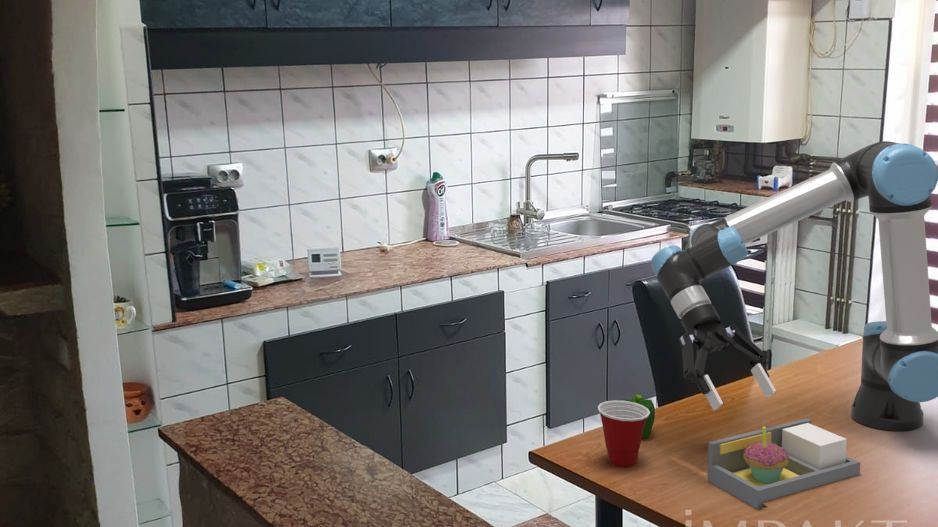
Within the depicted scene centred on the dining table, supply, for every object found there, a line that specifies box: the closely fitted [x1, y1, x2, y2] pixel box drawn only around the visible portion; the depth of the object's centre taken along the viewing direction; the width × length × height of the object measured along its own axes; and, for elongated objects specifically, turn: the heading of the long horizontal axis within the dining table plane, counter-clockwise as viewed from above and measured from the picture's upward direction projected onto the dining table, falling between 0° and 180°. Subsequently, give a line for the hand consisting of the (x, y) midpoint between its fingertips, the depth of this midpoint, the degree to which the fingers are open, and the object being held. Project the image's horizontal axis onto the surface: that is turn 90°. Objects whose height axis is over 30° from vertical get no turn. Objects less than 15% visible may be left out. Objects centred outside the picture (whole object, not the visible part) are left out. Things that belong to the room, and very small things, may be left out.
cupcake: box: [743, 423, 789, 484], centre depth 173 cm, size 9×8×12 cm
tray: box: [707, 417, 861, 510], centre depth 175 cm, size 26×14×8 cm, turn 115°
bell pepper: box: [620, 394, 656, 439], centre depth 201 cm, size 8×8×10 cm
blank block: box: [782, 423, 848, 470], centre depth 178 cm, size 7×10×7 cm
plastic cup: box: [597, 400, 650, 468], centre depth 187 cm, size 11×11×12 cm
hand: (745, 400), depth 177 cm, fingers open, 13 cm apart
